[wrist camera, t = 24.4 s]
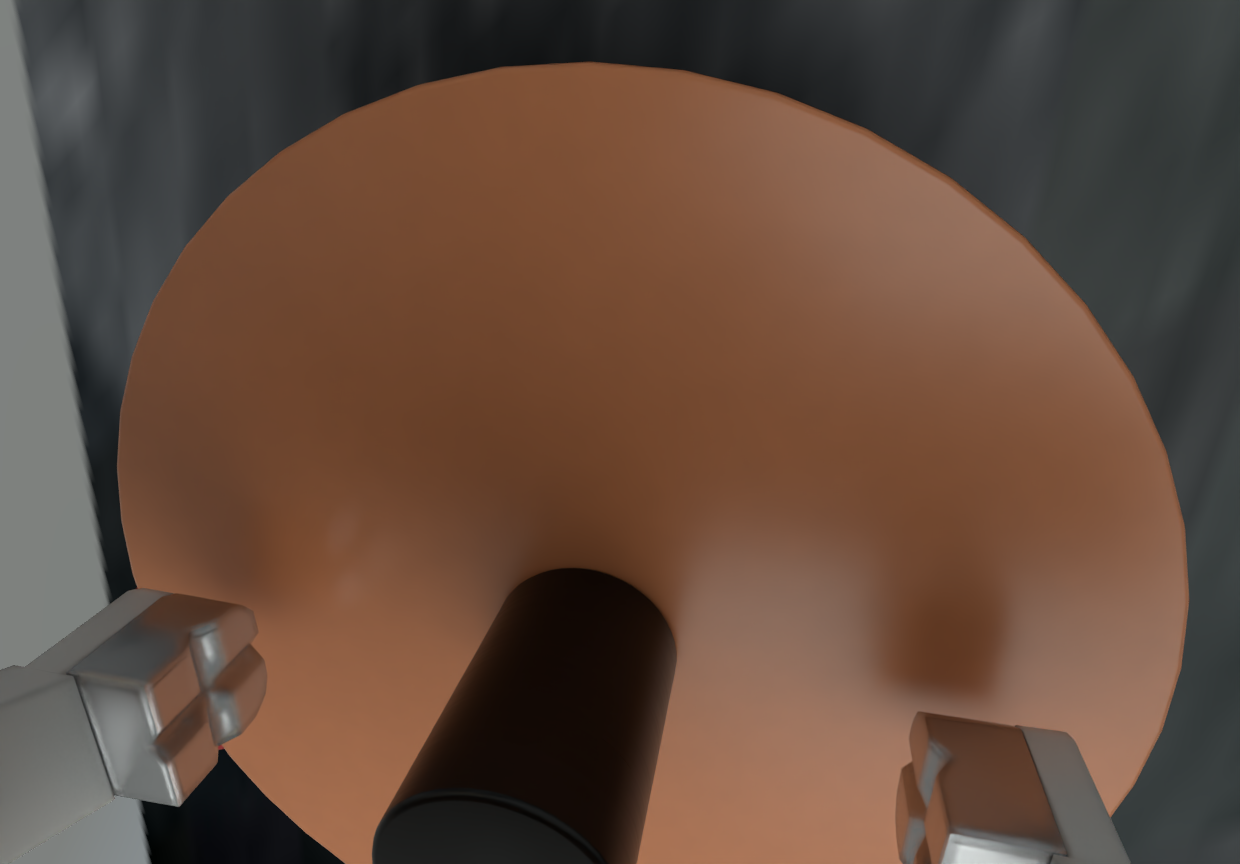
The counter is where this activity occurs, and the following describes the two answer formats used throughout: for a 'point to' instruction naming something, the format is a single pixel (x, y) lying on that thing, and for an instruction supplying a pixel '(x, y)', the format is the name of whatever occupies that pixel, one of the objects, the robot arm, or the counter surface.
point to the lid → (642, 476)
